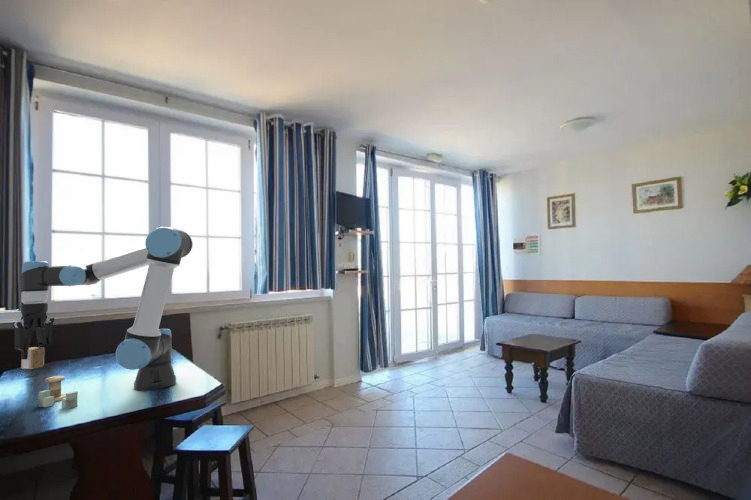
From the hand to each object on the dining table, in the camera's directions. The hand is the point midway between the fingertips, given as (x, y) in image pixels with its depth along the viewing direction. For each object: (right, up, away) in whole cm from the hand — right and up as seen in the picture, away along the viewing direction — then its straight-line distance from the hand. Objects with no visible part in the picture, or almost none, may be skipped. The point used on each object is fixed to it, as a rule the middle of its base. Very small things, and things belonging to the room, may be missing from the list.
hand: (33, 366), depth 145 cm
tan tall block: (0, 0, 0) cm, 1 cm away
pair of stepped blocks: (+15, -12, -7) cm, 20 cm away
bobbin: (+7, -12, 0) cm, 15 cm away
